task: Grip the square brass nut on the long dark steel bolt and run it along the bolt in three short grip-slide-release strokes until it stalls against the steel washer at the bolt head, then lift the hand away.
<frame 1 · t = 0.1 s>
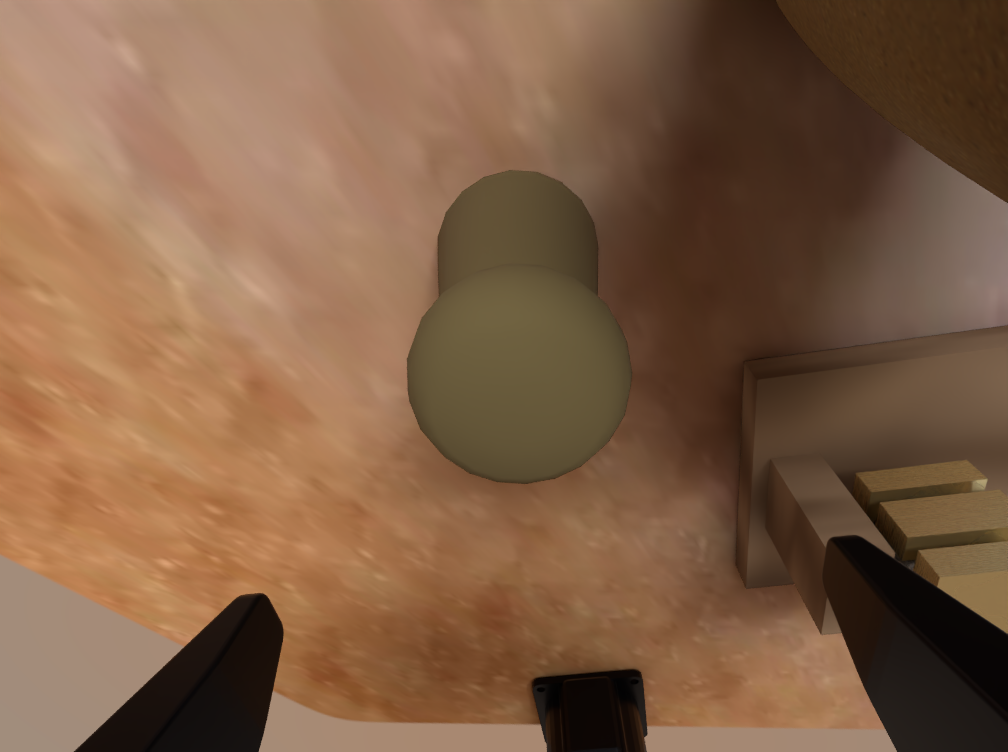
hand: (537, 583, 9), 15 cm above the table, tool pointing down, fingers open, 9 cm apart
nut: (940, 563, 21), point 6 cm above the table, slide at 0.0 cm
jig: (981, 445, 25), on the table
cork: (517, 252, 22), on the table
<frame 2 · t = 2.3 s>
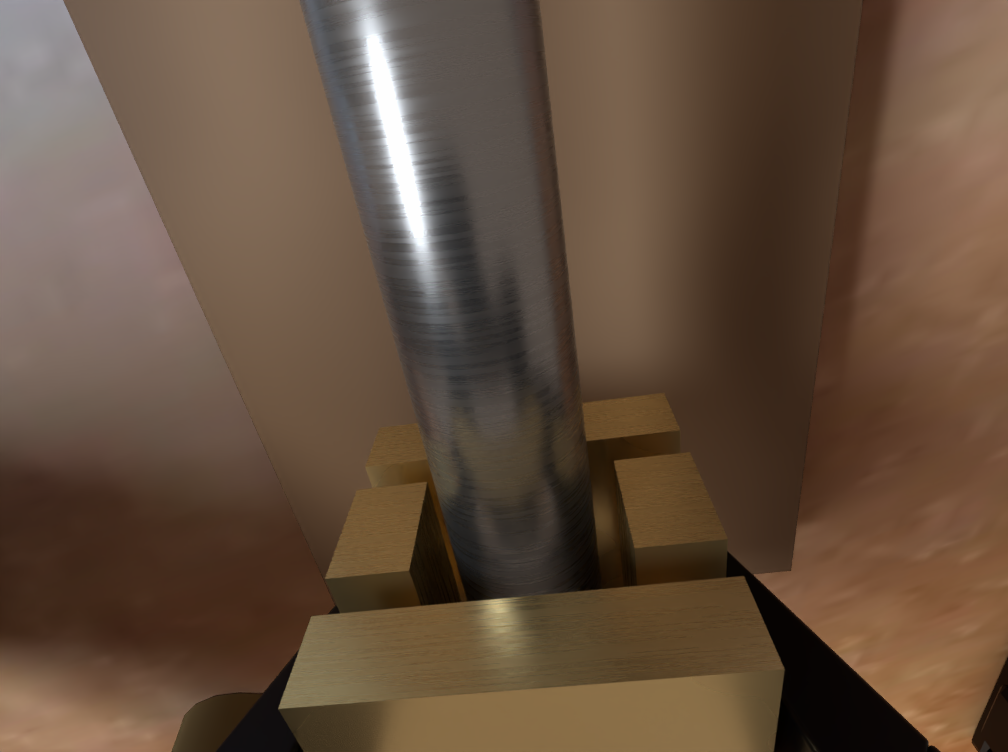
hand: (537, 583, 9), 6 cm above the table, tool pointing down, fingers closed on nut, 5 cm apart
nut: (538, 608, 9), point 6 cm above the table, slide at 0.0 cm, touching gripper
bolt: (471, 192, 7), point 5 cm above the table
jig: (492, 171, 11), on the table
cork: (265, 734, 22), on the table
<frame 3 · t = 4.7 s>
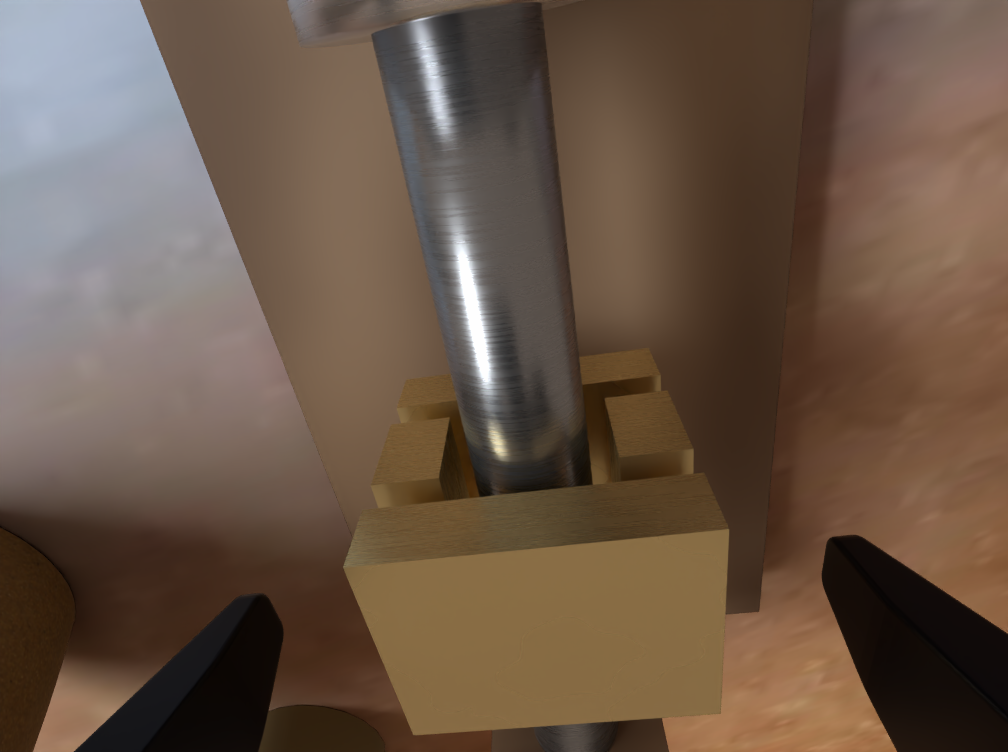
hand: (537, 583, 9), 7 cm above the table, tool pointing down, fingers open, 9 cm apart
nut: (541, 523, 10), point 6 cm above the table, slide at 3.9 cm
bolt: (525, 393, 11), point 5 cm above the table
jig: (526, 318, 15), on the table
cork: (318, 740, 26), on the table
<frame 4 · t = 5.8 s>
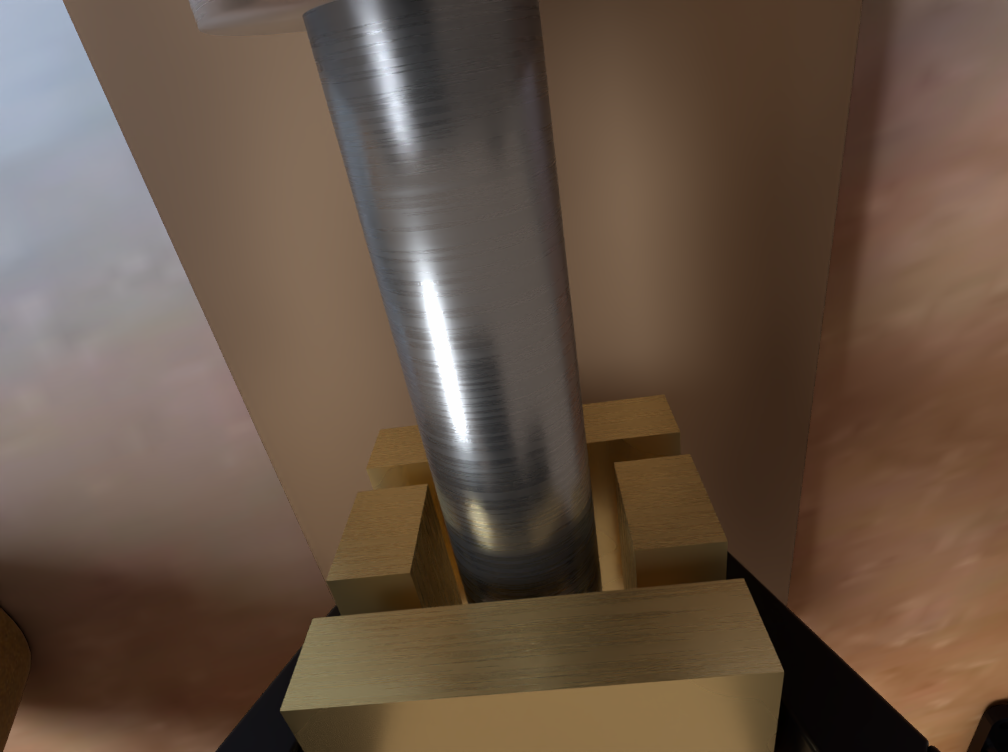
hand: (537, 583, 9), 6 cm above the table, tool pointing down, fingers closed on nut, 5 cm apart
nut: (538, 610, 9), point 6 cm above the table, slide at 3.9 cm, touching gripper
bolt: (518, 454, 9), point 5 cm above the table
jig: (521, 349, 13), on the table
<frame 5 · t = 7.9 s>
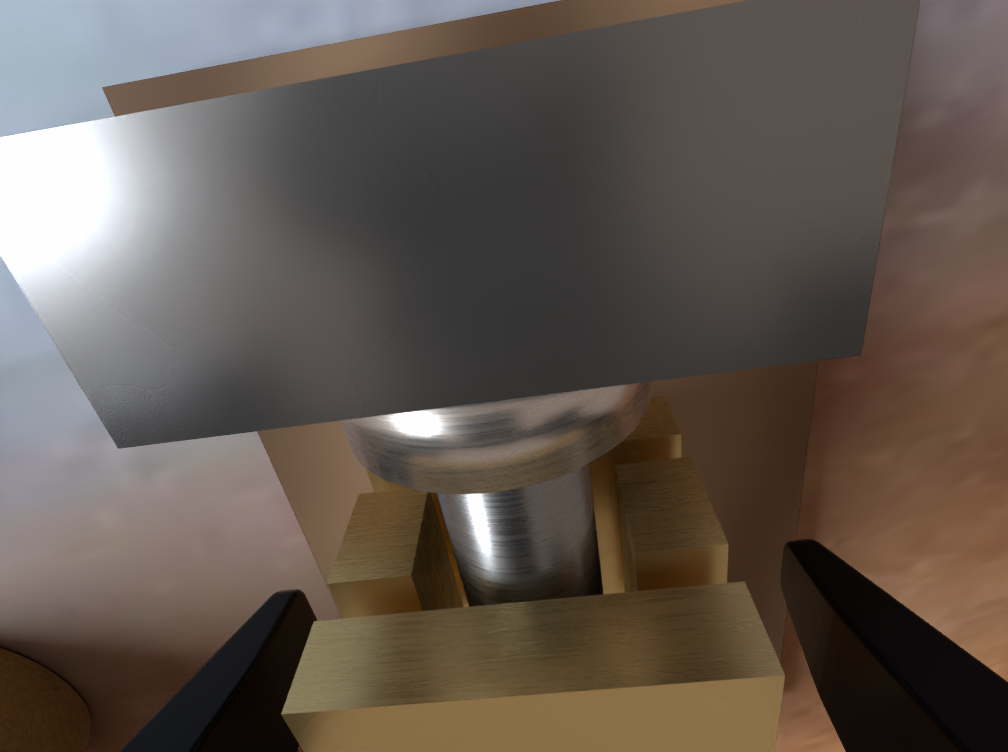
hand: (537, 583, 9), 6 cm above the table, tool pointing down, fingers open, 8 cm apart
nut: (539, 612, 9), point 6 cm above the table, slide at 7.9 cm
bolt: (549, 621, 11), point 5 cm above the table
jig: (542, 481, 15), on the table
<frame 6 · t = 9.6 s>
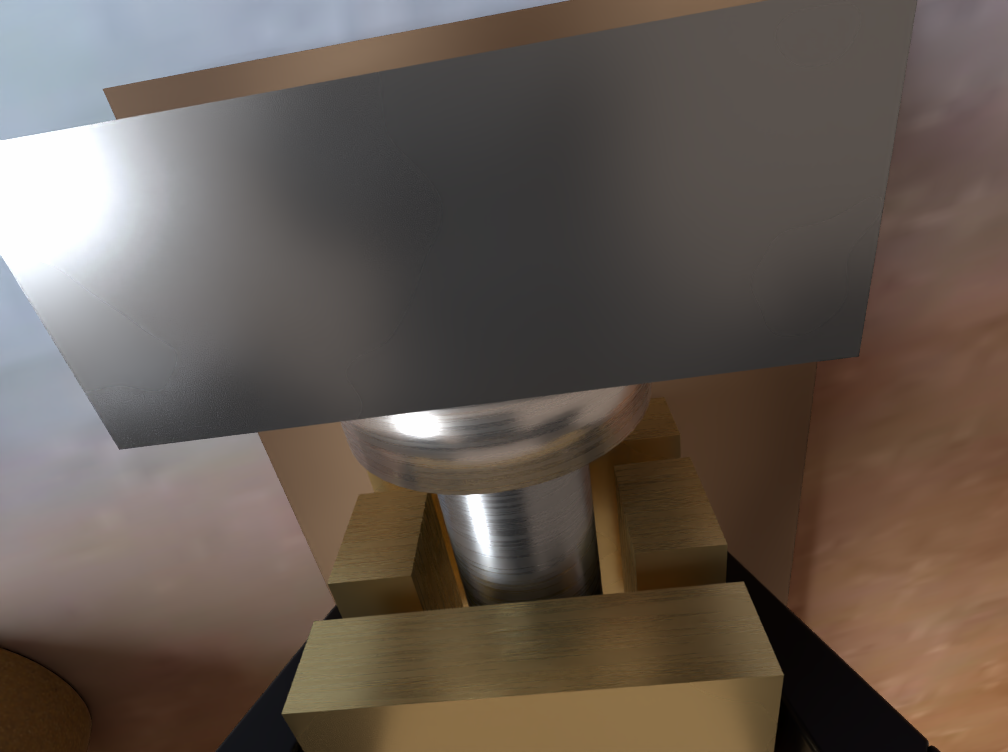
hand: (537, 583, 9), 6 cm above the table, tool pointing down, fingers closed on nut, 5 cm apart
nut: (539, 612, 9), point 6 cm above the table, slide at 7.9 cm, touching gripper
bolt: (549, 622, 11), point 5 cm above the table
jig: (542, 481, 15), on the table
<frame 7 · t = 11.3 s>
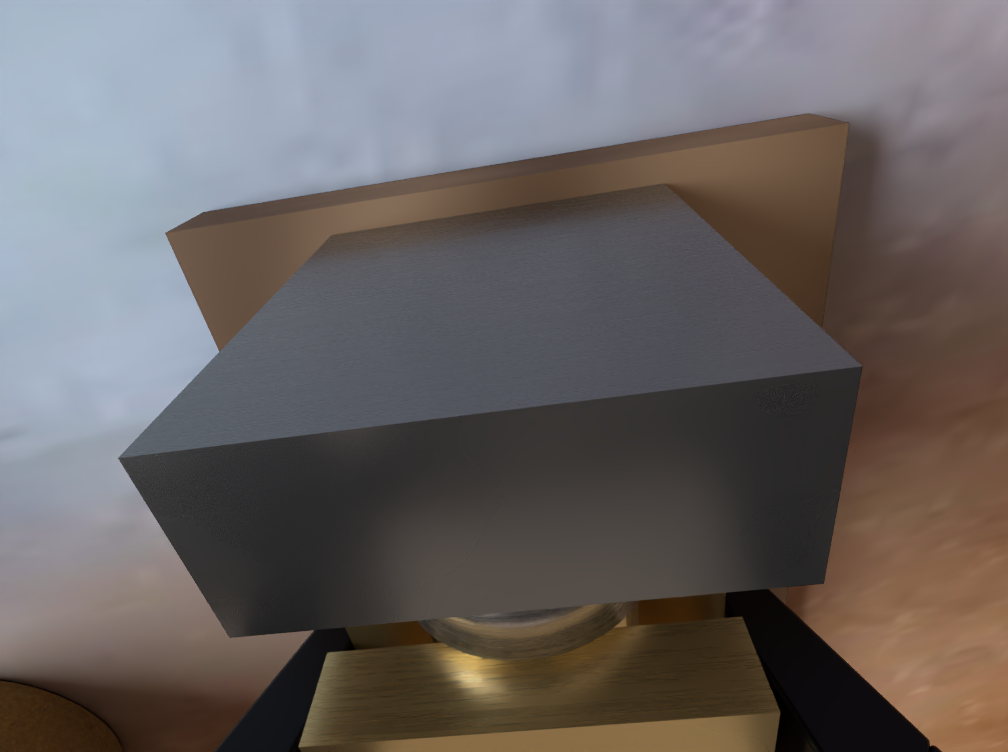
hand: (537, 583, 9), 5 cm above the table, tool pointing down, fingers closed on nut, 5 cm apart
nut: (543, 636, 9), point 6 cm above the table, slide at 9.8 cm, touching gripper
bolt: (562, 696, 12), point 5 cm above the table
jig: (552, 545, 16), on the table
plant pot: (27, 725, 22), on the table
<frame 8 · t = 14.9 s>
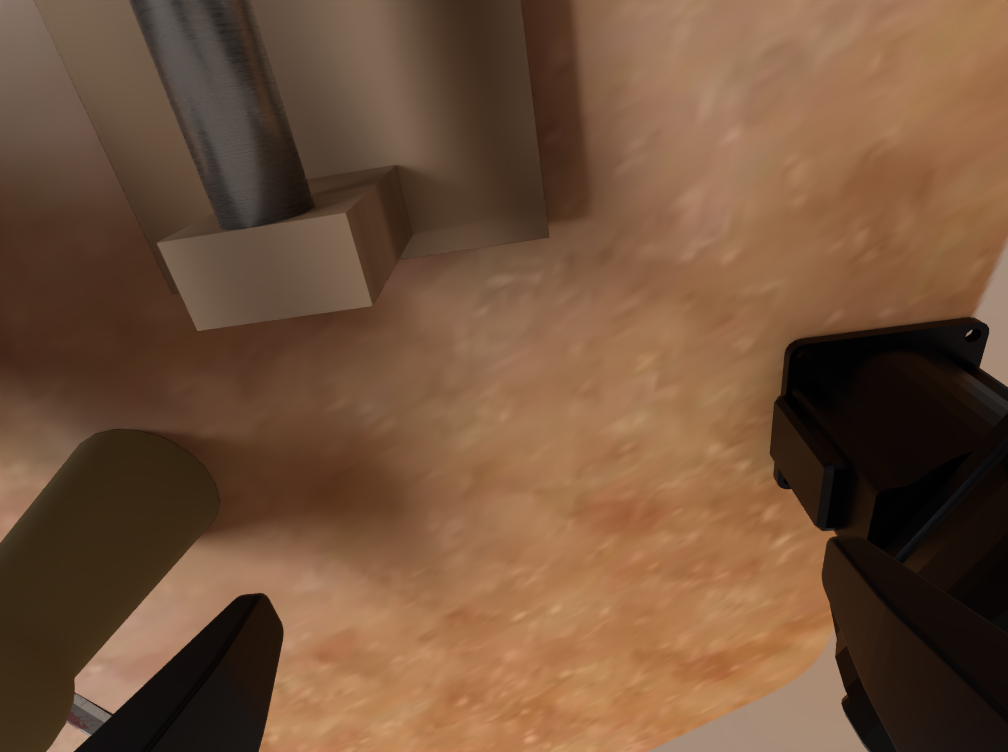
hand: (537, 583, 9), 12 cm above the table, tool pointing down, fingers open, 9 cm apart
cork: (148, 485, 24), on the table
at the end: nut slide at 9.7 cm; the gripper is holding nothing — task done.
